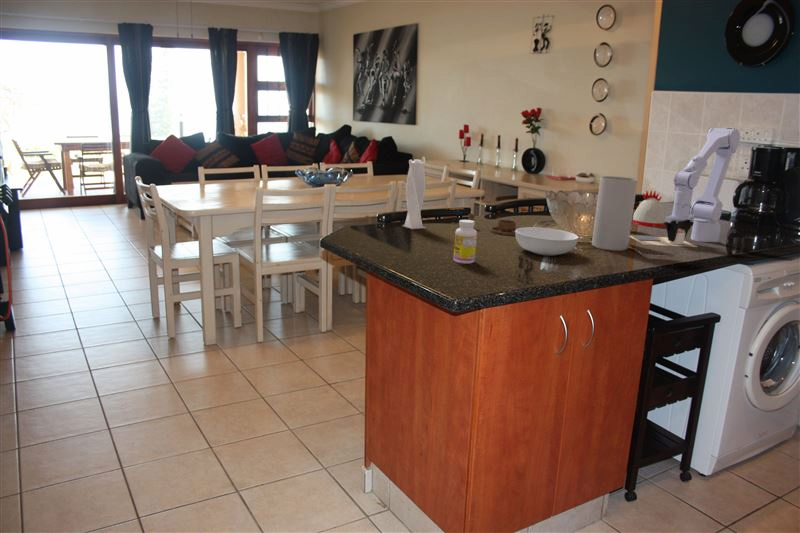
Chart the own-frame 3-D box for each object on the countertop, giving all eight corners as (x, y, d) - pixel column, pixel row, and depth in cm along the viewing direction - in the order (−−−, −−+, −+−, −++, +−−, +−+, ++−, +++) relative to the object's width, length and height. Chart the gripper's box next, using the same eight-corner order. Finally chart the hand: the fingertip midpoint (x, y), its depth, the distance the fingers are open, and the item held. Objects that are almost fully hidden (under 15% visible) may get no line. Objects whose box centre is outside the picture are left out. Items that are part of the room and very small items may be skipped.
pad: (651, 237, 247) (651, 236, 247) (660, 241, 240) (660, 240, 240) (631, 236, 247) (631, 235, 247) (639, 240, 239) (639, 239, 239)
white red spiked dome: (629, 220, 294) (633, 187, 290) (660, 222, 292) (665, 189, 288) (635, 225, 280) (640, 191, 276) (668, 228, 279) (673, 193, 275)
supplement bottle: (451, 258, 202) (454, 218, 199) (472, 259, 203) (475, 219, 199) (455, 263, 196) (458, 222, 192) (476, 264, 196) (479, 223, 193)
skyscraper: (428, 229, 248) (433, 156, 241) (411, 230, 243) (416, 156, 236) (416, 225, 254) (420, 154, 247) (399, 226, 250) (403, 154, 243)
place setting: (501, 238, 239) (502, 223, 238) (464, 228, 254) (465, 214, 253) (532, 234, 250) (533, 220, 248) (494, 225, 265) (496, 211, 263)
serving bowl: (564, 263, 204) (567, 242, 202) (504, 252, 214) (505, 232, 213) (583, 252, 221) (586, 233, 219) (526, 243, 232) (528, 224, 230)
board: (677, 241, 249) (678, 237, 249) (697, 250, 234) (697, 246, 233) (627, 239, 248) (627, 235, 248) (643, 248, 233) (644, 244, 232)
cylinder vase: (611, 252, 223) (621, 181, 217) (584, 245, 233) (592, 176, 227) (634, 249, 230) (645, 180, 223) (607, 242, 240) (616, 176, 233)
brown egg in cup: (679, 241, 240) (681, 228, 239) (685, 244, 236) (687, 231, 234) (666, 241, 240) (668, 228, 239) (672, 244, 235) (674, 230, 234)
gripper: (679, 206, 227) (673, 244, 231) (703, 205, 235) (697, 241, 238) (662, 203, 233) (656, 240, 236) (686, 202, 240) (681, 237, 244)
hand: (676, 240), depth 238 cm, fingers closed on brown egg in cup, 5 cm apart
